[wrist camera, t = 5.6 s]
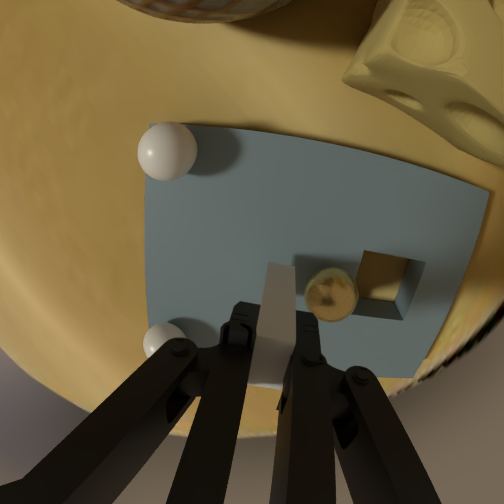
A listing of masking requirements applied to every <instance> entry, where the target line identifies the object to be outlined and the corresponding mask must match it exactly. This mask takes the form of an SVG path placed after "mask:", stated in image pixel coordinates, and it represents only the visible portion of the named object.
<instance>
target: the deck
mask: <svg viewBox="0 0 504 504" xmlns="http://www.w3.org/2000/svg"><path fill="white" fill-rule="evenodd" d="M156 124H157V123H150V127H149V129H150V128H151V127H153V126H154V125H156ZM181 125H183V124H181ZM183 126H185V127H186V128H187V129H189V130H190V132H191V133H192V134H193V136H194V138H195V140H196V144H197V157H196V160H195V162H194V164H193V166H192V168H191V169H190V170H189V171H188V172H187V173H186V174H185V175H183V176H182V177H180V178H178V179H175V180H171V181H161V180H157V179H154V178H152V177H150V176H149V175H148V174H146V184H145V276H146V296H147V311H148V324H149V329H150V328H151V327H152V326H154V325H156V324H159V323H170V324H173V325H175V326H177V327H178V328H180V329H181V330H182V332H183V333H184V335H185V337H186V339H190V340H191V341H193V342H194V343H195V344H196V346H197V348H207V347H213V346H216V345H217V344H219V338H220V328H221V326H222V325H223V324H224V323H226V322H228V321H229V320H230V317H231V314H232V311H233V307H234V306H235V305H236V304H237V303H238V302H240V301H243V302H248V303H254V304H259V305H261V301H262V295H263V290H264V284H265V279H266V273H267V268H268V262H273V263H278V264H284V265H290V266H295V287H296V310H299V311H305V312H309V311H308V309H307V307H306V305H305V301H304V290H305V286H306V284H307V282H308V280H309V279H310V277H311V276H312V275H313V274H315V273H316V272H317V271H319V270H321V269H324V268H328V267H336V268H340V269H343V270H345V271H346V272H348V273H349V274H350V275H351V276H352V277H353V278H354V280H356V277H357V273H358V270H359V267H360V263H361V260H362V256H363V253H364V250H366V251H372V252H377V253H382V254H388V255H393V256H398V257H403V258H408V259H409V262H408V265H407V268H406V271H405V274H404V277H403V280H402V282H401V285H400V288H399V290H398V293H397V296H396V298H395V301H394V302H386V301H379V300H372V299H365V298H359V299H358V303H357V306H356V308H355V309H354V311H353V312H352V313H351V315H349V316H348V317H347V318H345V319H344V320H342V321H339V322H335V323H327V322H323V321H320V320H318V325H319V327H318V328H319V334H320V344H321V353H322V354H323V355H324V356H325V358H326V360H327V363H328V364H329V365H331V366H332V367H334V368H337V369H340V370H342V371H345V372H346V370H347V369H348V368H349V367H352V366H363V367H366V368H368V369H369V370H371V371H372V372H373V373H374V374H375V376H376V377H387V378H413V377H414V375H415V373H416V372H417V370H418V368H419V367H420V365H421V363H422V362H423V360H424V358H425V356H426V355H427V353H428V351H429V349H430V347H431V346H432V344H433V342H434V340H435V338H436V336H437V334H438V332H439V330H440V328H441V326H442V324H443V322H444V320H445V318H446V316H447V314H448V312H449V310H450V308H451V305H452V303H453V301H454V299H455V296H456V294H457V292H458V289H459V287H460V285H461V282H462V280H463V277H464V275H465V272H466V269H467V267H468V264H469V261H470V258H471V256H472V253H473V250H474V247H475V244H476V241H477V238H478V234H479V231H480V228H481V224H482V221H483V217H484V214H485V210H486V206H487V202H488V198H489V194H490V192H488V191H486V190H483V189H481V188H478V187H476V186H473V185H471V184H468V183H466V182H463V181H460V180H458V179H455V178H452V177H449V176H447V175H444V174H441V173H438V172H435V171H432V170H429V169H426V168H423V167H419V166H416V165H413V164H410V163H406V162H403V161H399V160H396V159H392V158H389V157H385V156H381V155H378V154H374V153H370V152H366V151H362V150H357V149H353V148H349V147H344V146H340V145H335V144H330V143H325V142H320V141H315V140H310V139H304V138H299V137H293V136H287V135H280V134H274V133H267V132H259V131H251V130H243V129H234V128H224V127H213V126H199V125H183Z"/></svg>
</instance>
